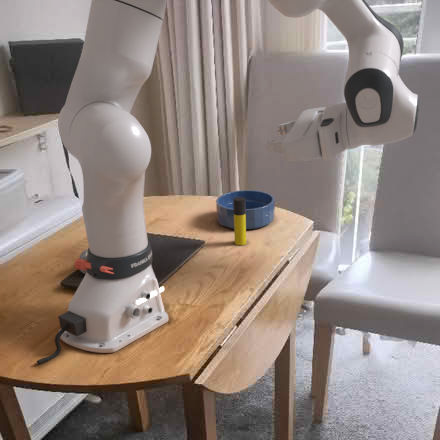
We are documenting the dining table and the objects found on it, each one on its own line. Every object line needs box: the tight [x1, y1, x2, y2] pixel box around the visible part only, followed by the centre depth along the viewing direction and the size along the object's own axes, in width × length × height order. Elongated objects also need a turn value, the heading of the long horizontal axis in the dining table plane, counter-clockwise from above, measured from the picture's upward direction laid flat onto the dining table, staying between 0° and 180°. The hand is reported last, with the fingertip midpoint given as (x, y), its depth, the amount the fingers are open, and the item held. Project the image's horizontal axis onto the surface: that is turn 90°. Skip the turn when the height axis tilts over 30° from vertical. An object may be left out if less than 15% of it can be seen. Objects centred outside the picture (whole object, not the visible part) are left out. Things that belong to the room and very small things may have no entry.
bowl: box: [215, 189, 276, 230], centre depth 155 cm, size 15×15×6 cm
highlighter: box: [233, 197, 247, 246], centre depth 141 cm, size 3×3×11 cm
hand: (272, 138), depth 126 cm, fingers open, 8 cm apart
